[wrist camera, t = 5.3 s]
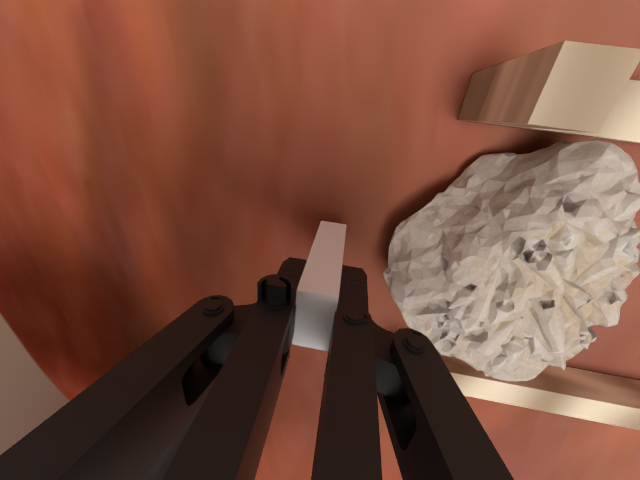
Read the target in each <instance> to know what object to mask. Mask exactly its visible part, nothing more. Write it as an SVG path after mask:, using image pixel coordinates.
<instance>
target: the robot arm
mask: <svg viewBox="0 0 640 480" xmlns="http://www.w3.org/2000/svg"><path fill="white" fill-rule="evenodd" d="M346 226H347V225H346V224H340V223H333V222H327V221H321V222H320V225H319V228H318V231H317V233H316V236H315V239H314V242H313V245H312V248H311V251H310V253H309V256H308V259H307V260H303V259H297V258H291V257H290V258H288V259H287V260H285V261H284V262H283V263H282V265H281V267H280V270H279V271H278V273H277V275H276V274H273V275H268V276H265V277H263V278H261V279H260V280H259V281H258V301H257V303H254V304H250V305H239V306H234V304H233V302H232V300H231V299H229V298H228V297H225V296H221V295H216V296H209V297H206V298H204V299H202V300H200V301H198V302H197V303H196V304H194V305H193V306H192V307H191V308H189V309H188V310H187V311H185V312H184V313H183V314H182V315H180V316H179V317H178V318H176V319H175V320H174V321H173V322H171V323H170V324H169V325H167V326H166V327H165V328H164V329H162V330H161V331H160V332H158V333H157V334H156V335H155V336H153V337H152V338H151V339H149V340H148V341H147V342H146V343H144V344H143V345H142V346H140V347H139V348H138V349H137V350H135V351H134V352H133V353H131V354H130V355H129V356H128V357H126V358H125V359H124V360H122V361H121V362H120V363H119V364H117V365H116V366H115V367H113V368H112V369H111V370H110V371H108V372H107V373H106V374H104V375H103V376H102V377H101V378H99V379H98V380H97V381H95V382H94V383H93V384H92V385H90V386H89V387H88V388H86V389H85V390H84V391H83V392H81V393H80V394H79V395H77V396H76V397H75V398H74V399H72V400H71V401H70V402H68V403H67V404H66V405H65V406H63V407H62V408H61V409H59V410H58V411H57V412H56V413H54V414H53V415H52V416H50V418H48V419H47V420H45V421H44V422H43V423H42V424H40V425H39V426H38V427H36V428H35V429H34V430H32V431H31V432H30V433H29V434H27V435H26V436H25V437H23V438H22V439H21V440H20V441H18V442H17V443H16V444H14V445H13V446H12V447H11V448H9V449H8V450H7V451H5V452H4V453H3V454H2V455H0V480H254V479H255V476H256V472H257V469H258V465H259V462H260V458H261V455H262V451H263V447H264V444H265V440H266V437H267V433H268V430H269V426H270V423H271V419H272V416H273V412H274V409H275V405H276V401H277V398H278V394H279V391H280V387H281V384H282V380H283V377H284V373H285V370H286V366H287V362H288V359H289V353H290V345H291V342H292V344H293V345H298V346H303V347H308V348H314V349H319V350H324V351H328V358H327V363H326V369H325V374H324V377H325V378H324V386H323V393H322V401H321V408H320V416H319V424H318V431H317V439H316V446H315V454H314V461H313V469H312V476H311V480H382V468H381V452H380V436H379V419H378V403H377V395H378V398H379V402H380V405H381V408H382V412H383V415H384V418H385V422H386V425H387V428H388V432H389V435H390V438H391V442H392V445H393V448H394V452H395V455H396V458H397V462H398V465H399V469H400V472H401V475H402V479H403V480H514V479H513V477H512V476H511V474H510V472H509V471H508V469H507V467H506V466H505V464H504V462H503V461H502V459H501V457H500V455H499V454H498V452H497V450H496V449H495V447H494V445H493V444H492V442H491V440H490V439H489V437H488V435H487V434H486V432H485V430H484V429H483V427H482V425H481V424H480V422H479V420H478V419H477V417H476V415H475V413H474V412H473V410H472V408H471V407H470V405H469V403H468V402H467V400H466V398H465V397H464V395H463V393H462V392H461V390H460V388H459V387H458V385H457V383H456V382H455V380H454V378H453V377H452V375H451V373H450V371H449V370H448V368H447V366H446V365H445V363H444V361H443V360H442V358H441V356H440V355H439V353H438V351H437V350H436V348H435V346H434V345H433V343H432V342H431V341H430V339H429V338H428V337H426V336H425V335H424V334H422V333H421V332H419V331H416V330H414V329H408V328H404V329H399V330H398V331H397V332H395V334H394V333H392V332H389V331H387V330H385V329H383V328H381V327H379V326H378V325H377V324H375V323H374V322H373V320H372V318H371V315H370V314H369V312H368V292H367V275H366V274H365V272H364V271H363V269H362V268H356V267H350V266H344V265H342V263H343V254H344V244H345V235H346Z"/></svg>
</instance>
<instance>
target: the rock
mask: <svg viewBox="0 0 640 480" xmlns="http://www.w3.org/2000/svg"><path fill="white" fill-rule="evenodd" d="M639 209H640V182H639V181H638V171H637V169H636V166H635V163H634V162H633V160H632V158H631V157H630V155H629V154H627V153H625V152H624V151H623V150H622V149H621V148H620V147H618V146H616V145H614V144H613V143H610V142H604V141H597V140H591V141H583V142H575V143H565V142H561V141H558V142H556V143H555V144H553V145H551V146H549V147H547V148H544V149H539V150H537V151H535V152H532V153H527V154H519V155H517V154H515V153H496V154H487V155H482V156H481V157H479V158H478V159H477V160H476V161H474V162H473V163H472V164H471V165H469V166H468V167H467V168H466V169H465V170H464V172H463V173H462V174H461V175H460V176H459V177H458V178H457V179H456V180H455V181H454V182H453V183H451V184H450V185H449V186H448V188H447V189H446V190H445V191H444V192H443V193H438V194H437V195H436V196H435V198H434V199H433V200H432V201H431V202H430V203H428V204H427V205H426V206H425V207H423V208H422V209H421V210H419V211H418V212H416V213H415V214H413V215H412V216H410V217H409V218H408V219H406V220H404V221H402V222H401V223H400V224H399V225H398V226H397V227H396V229H395V231H394V234H393V236H392V239H391V242H390V245H389V253H388V268H387V269H386V270H385V271H384V272H383V275H384V278H385V281H386V283H387V285H388V287H389V291H390V294H391V296H392V299H393V300H394V301H395V302H396V304H397V306H398V308H399V310H400V312H401V313H402V315H403V318H404V320H405V322H406V324H407V325H408V326H409V327H410V328H412V329H414V330H416V331H419V332H421V333H422V334H424V335H425V336H426V337H428V338H429V339H430V341H431V342H432V343H433V345H434V346H435V348H436V349H437V351H438V352H439V353H440V354H441V355H445V356H449V357H456V358H458V359H460V360H463V361H465V362H466V363H468V364H469V365H471V366H472V367H473V368H474V369H476V370H477V371H478V370H481V371H483V372H484V374H485V376H489V377H490V376H492V377H493V378H494V379H500V380H505V381H515V382H517V381H528V380H531V379H534V378H535V377H536V376H537V375H538V374H540V373H541V372H542V371H543V370H544V369H545V368H546V367H547V366H548V365H551V366H558V367H561V368H562V369H563V370H565V368H566V360H568V359H571V358H573V357H574V356H575V355H576V354H578V353H579V352H580V351H581V350H583V349H584V348H586V349H588V346H589V344H590V343H591V342H594V341H595V340H596V338H597V335H596V333H595V332H594V331H593V330H592V327H591V326H593V325H602V326H606V327H610V326H614V325H618V321H619V315H620V308H621V305H622V304H623V303H624V302H625V301H626V300H627V297H628V296H627V294H626V292H625V290H624V289H626V288H627V286H628V285H629V284H630V283H631V281H632V280H633V279H634V278H635V277H636V276H637V275H638V274H639V273H640V269H639V267H638V265H637V262H638V260H639V253H640V250H639V248H638V247H637V245H638V244H639V243H640V229H637V226H636V224H635V222H634V217H635V215H636V212H637V211H638V210H639Z"/></svg>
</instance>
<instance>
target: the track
mask: <svg viewBox="0 0 640 480" xmlns="http://www.w3.org/2000/svg"><path fill="white" fill-rule="evenodd" d="M639 61H640V49H635V48H626V47H617V46H608V45H599V44H590V43H581V42H572V41H562V42H560V43H557V44H554V45H551V46H548V47H545V48H543V49H540V50H537V51H534V52H531V53H528V54H526V55H523V56H520V57H517V58H514V59H511V60H509V61H506V62H503V63H500V64H497V65H494V66H492V67H489V68H486V69H483V70H480V71H477V72H475V73H473V74H472V77H471V80H470V83H469V86H468V89H467V92H466V95H465V98H464V101H463V104H462V107H461V110H460V113H459V116H458V119H457V120H463V121H470V122H477V123H485V124H492V125H500V126H507V127H515V128H522V129H530V130H537V131H545V132H552V133H560V134H567V135H575V136H582V137H590V138H597V139H605V140H612V141H619V142H627V143H634V144H640V81H637V80H629V79H630V77H631V75H632V73H633V72H634V70H635V68H636V66H637V65H638V63H639ZM436 350H437V349H436ZM438 353H439V352H438ZM439 355H440V356H441V358H442V360H443V361H444V363H445V365H446V366H447V368H448V370H449V371H450V373H451V375H452V377H453V378H454V380H455V382H456V383H457V385H458V387H459V388H460V390H461V392H462V393H463V395H465V396H470V397H475V398H480V399H485V400H490V401H495V402H500V403H505V404H510V405H515V406H520V407H525V408H530V409H535V410H540V411H545V412H550V413H555V414H561V415H566V416H571V417H576V418H581V419H586V420H591V421H596V422H601V423H606V424H611V425H616V426H621V427H626V428H631V429H636V430H640V380H635V379H630V378H625V377H619V376H614V375H609V374H603V373H598V372H593V371H587V370H582V369H577V368H571V367H566V368H565V370H563V369H562V368H561V367H558V366H551V365H548V366H547V367H546V368H545V369H544V370H543V371H542V372H541V373H540V374H538V375H537V376H536V377H535V378H534V379H531V380H528V381H517V382H515V381H505V380H500V379H494V378H493V377H492V376H490V377H489V376H485V374H484V372H483V371H481V370H478V371H477V370H476V369H474V368H473V367H472V366H471V365H469V364H468V363H466V362H465V361H463V360H460V359H458V358H456V357H449V356H445V355H441V354H440V353H439Z"/></svg>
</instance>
